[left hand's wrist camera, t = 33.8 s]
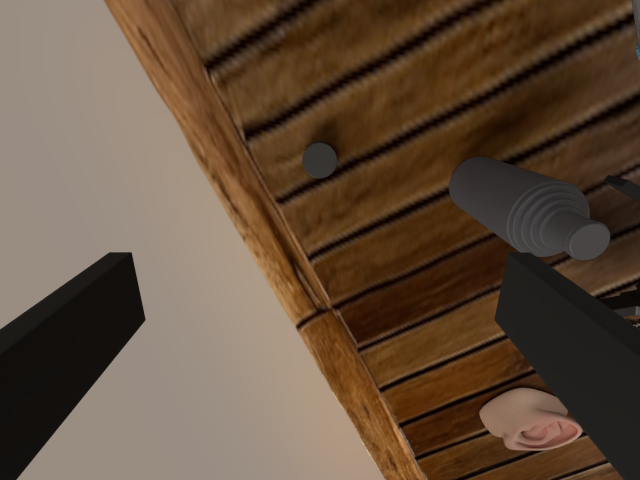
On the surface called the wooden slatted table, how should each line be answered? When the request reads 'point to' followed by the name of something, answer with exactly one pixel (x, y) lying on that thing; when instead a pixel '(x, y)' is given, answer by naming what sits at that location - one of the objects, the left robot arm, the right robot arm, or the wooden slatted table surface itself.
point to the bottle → (528, 209)
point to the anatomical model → (529, 420)
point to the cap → (319, 159)
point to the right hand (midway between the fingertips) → (569, 235)
